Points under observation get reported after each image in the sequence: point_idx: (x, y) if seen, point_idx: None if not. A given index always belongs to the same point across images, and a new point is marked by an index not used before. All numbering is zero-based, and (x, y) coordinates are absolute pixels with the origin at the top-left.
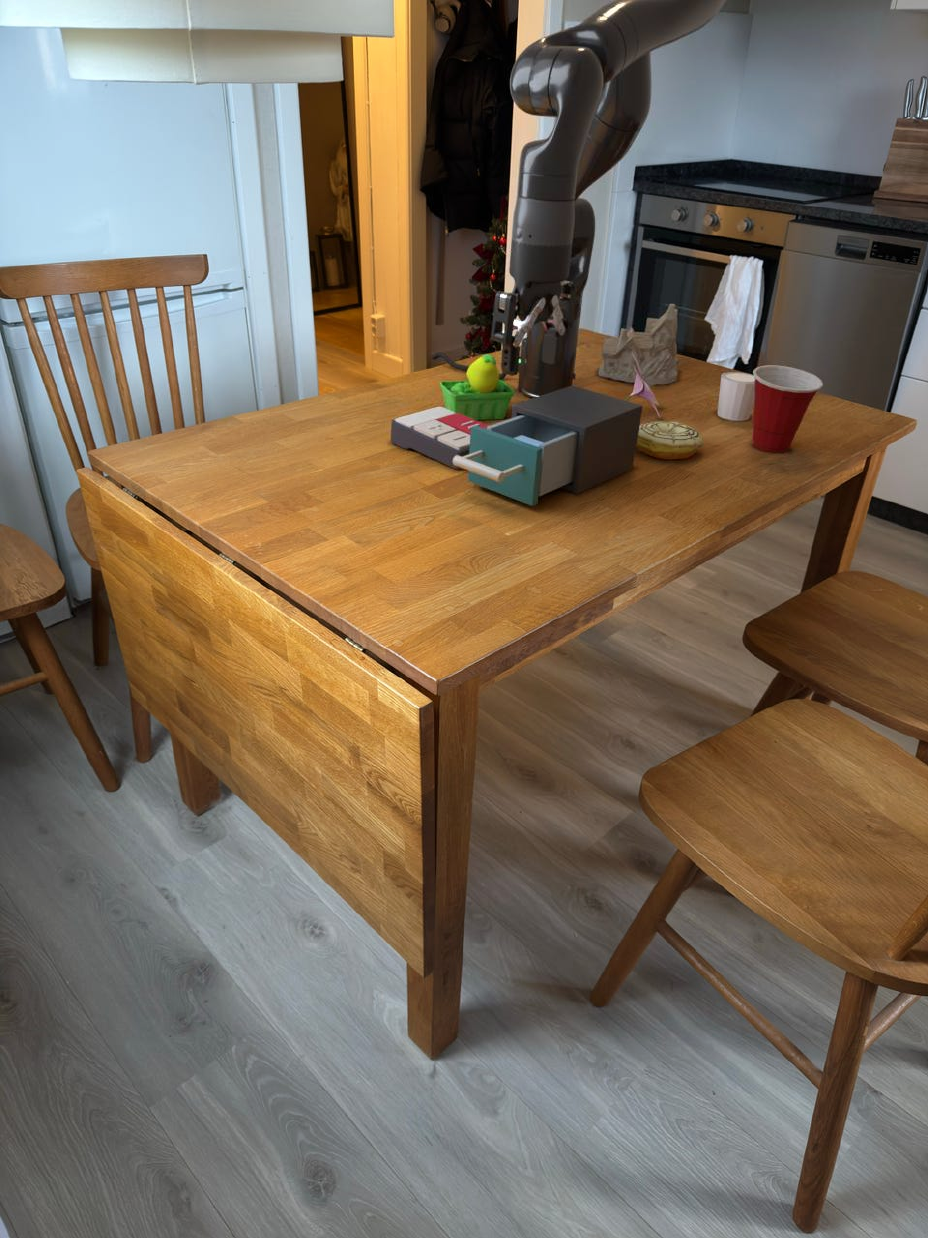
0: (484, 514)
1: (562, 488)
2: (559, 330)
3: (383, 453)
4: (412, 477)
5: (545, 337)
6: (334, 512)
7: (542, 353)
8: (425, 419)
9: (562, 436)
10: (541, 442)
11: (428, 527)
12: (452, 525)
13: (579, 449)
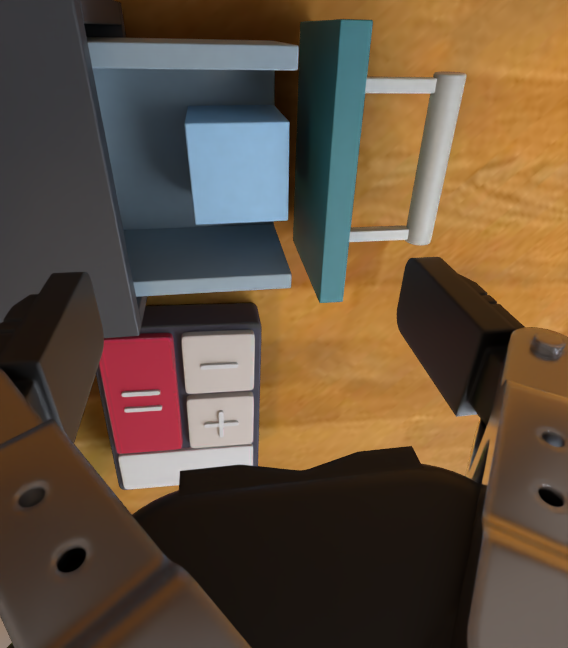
0: (400, 107)
1: None
2: (6, 393)
3: (295, 420)
4: (343, 327)
5: (73, 425)
6: (540, 299)
7: (97, 366)
8: (204, 456)
9: (163, 61)
10: (192, 139)
11: (519, 148)
12: (487, 119)
13: (96, 10)
